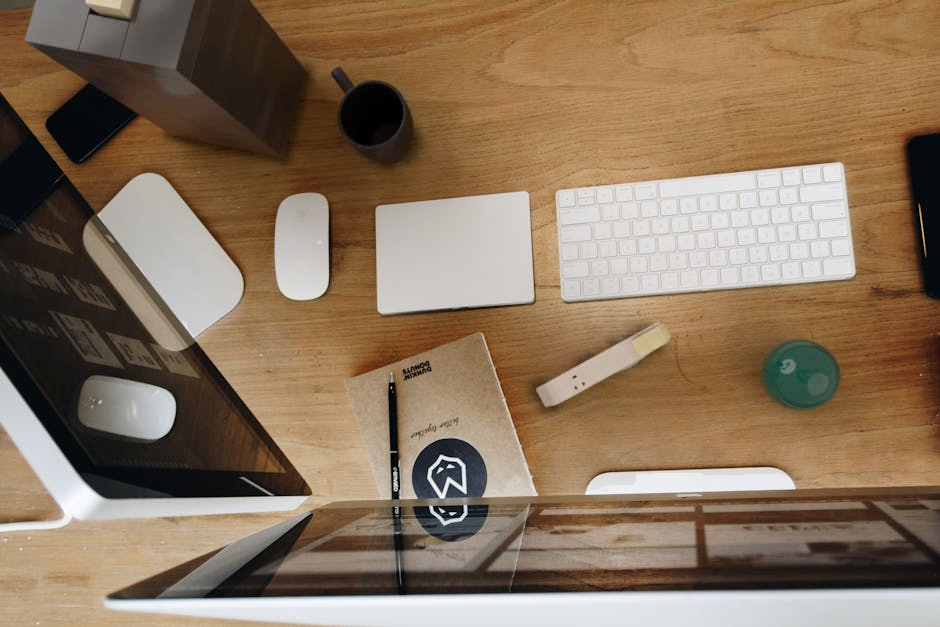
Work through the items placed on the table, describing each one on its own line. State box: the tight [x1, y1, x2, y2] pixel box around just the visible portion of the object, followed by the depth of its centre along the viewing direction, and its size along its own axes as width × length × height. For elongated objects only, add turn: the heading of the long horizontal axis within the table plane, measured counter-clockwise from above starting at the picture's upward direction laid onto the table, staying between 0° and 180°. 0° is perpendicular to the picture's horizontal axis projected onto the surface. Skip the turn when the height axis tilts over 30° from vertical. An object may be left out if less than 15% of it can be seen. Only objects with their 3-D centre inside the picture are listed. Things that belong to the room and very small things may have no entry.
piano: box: [24, 0, 307, 159], centre depth 79 cm, size 16×12×26 cm
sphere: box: [760, 338, 842, 413], centre depth 76 cm, size 8×8×8 cm
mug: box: [330, 66, 415, 164], centre depth 84 cm, size 8×12×10 cm
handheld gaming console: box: [535, 321, 672, 408], centre depth 79 cm, size 11×3×15 cm
